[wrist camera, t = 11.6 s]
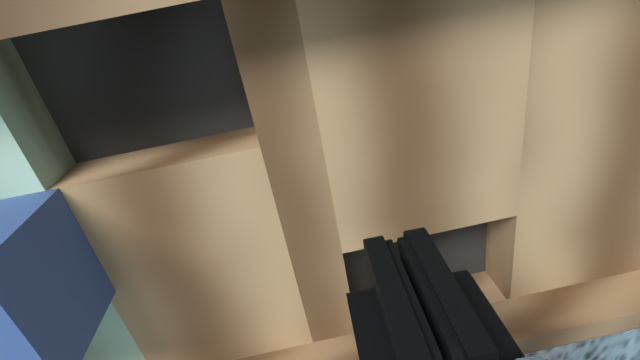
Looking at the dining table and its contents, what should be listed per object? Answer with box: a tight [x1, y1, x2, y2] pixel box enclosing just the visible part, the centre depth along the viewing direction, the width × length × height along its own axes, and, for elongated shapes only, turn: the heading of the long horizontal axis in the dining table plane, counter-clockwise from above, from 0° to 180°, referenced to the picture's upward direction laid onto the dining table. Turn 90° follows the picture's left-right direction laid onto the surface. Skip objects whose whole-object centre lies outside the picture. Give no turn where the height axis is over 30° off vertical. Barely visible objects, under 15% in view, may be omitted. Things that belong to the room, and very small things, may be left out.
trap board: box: [0, 0, 640, 360], centre depth 13 cm, size 32×16×6 cm, turn 101°
